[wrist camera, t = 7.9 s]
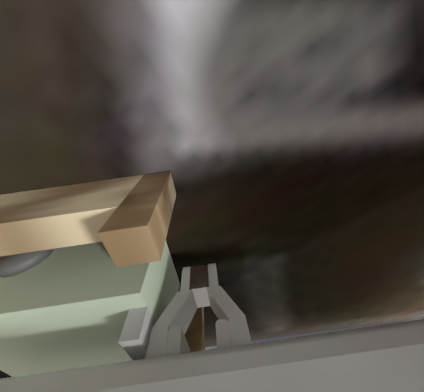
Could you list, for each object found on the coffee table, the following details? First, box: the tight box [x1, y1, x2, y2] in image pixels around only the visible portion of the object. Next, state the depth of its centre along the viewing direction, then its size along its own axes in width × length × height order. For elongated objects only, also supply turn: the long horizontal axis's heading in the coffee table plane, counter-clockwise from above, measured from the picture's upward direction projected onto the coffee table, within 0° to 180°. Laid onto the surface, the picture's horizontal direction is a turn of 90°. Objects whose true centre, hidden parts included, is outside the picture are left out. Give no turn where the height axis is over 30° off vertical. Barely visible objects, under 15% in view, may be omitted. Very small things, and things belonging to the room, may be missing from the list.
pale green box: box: [0, 240, 180, 377], centre depth 10 cm, size 9×7×6 cm
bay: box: [0, 171, 205, 352], centre depth 10 cm, size 12×13×5 cm
